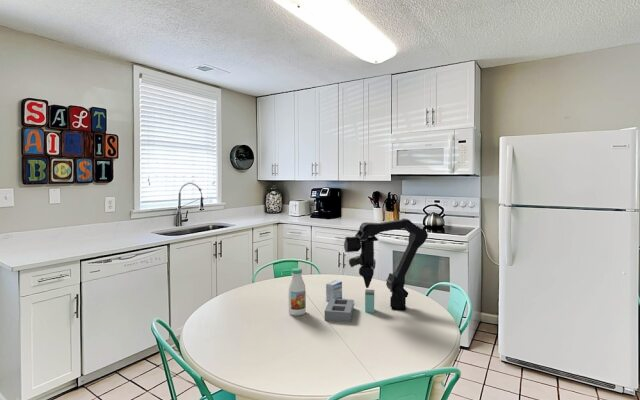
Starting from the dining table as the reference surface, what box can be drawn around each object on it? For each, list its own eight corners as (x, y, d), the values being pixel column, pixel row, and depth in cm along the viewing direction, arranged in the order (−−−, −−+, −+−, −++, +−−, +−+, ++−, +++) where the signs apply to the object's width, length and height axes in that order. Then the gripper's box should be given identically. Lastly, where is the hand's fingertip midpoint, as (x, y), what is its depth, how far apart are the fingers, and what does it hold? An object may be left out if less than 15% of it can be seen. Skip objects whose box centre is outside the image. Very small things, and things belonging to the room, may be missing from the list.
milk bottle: (285, 314, 160) (284, 270, 158) (294, 308, 167) (293, 266, 165) (300, 317, 156) (299, 272, 155) (308, 311, 163) (308, 268, 162)
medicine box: (333, 302, 174) (333, 285, 173) (325, 300, 177) (325, 283, 176) (342, 298, 180) (342, 281, 180) (335, 296, 183) (335, 279, 182)
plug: (374, 309, 165) (374, 289, 165) (374, 312, 161) (374, 292, 161) (365, 308, 166) (365, 289, 165) (365, 312, 162) (365, 292, 161)
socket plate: (353, 308, 167) (353, 299, 167) (350, 321, 151) (350, 312, 151) (330, 306, 169) (330, 298, 169) (324, 320, 153) (324, 311, 153)
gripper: (352, 246, 173) (352, 278, 174) (347, 255, 155) (347, 290, 156) (375, 246, 171) (375, 278, 172) (373, 255, 153) (373, 291, 154)
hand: (367, 284), depth 163 cm, fingers open, 9 cm apart
